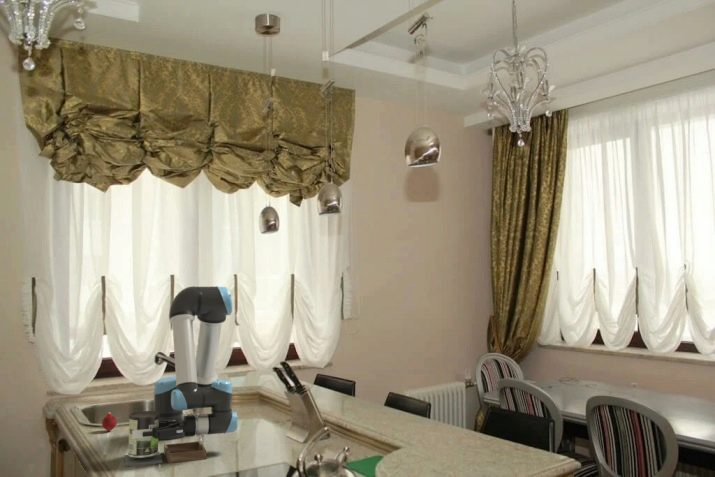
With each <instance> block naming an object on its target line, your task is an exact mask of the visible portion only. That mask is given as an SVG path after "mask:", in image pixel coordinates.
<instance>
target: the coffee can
mask: <svg viewBox="0 0 715 477" xmlns="http://www.w3.org/2000/svg"><path fill="white" fill-rule="evenodd" d="M128 420H129V421H128V423H129V424H128V451H127V452H128V453H127V455H128V456H130V457H134V458H144V457H150V456H154V455H156V454H158V452H159V439H158V438H157V439H156V438H155V437H147V438H136V439H132V430H143V429H153V428H155V429H158V428H159V412H156V411H154V410H142V411H141V410H140V411H135V412H132V413H130V414H128Z"/></svg>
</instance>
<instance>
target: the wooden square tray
mask: <svg viewBox="0 0 715 477" xmlns="http://www.w3.org/2000/svg"><path fill="white" fill-rule="evenodd" d="M206 449H207V448H205V446H204V445H203V443H202V442H201V441H200V440H199V441H190V442H189V441H188V442H179V443H168V444H163V454H164V456H165V458H166V461H167V463H168V464H170V463H179V462H181V463H182V462H189V461H197V460H206V459H207V450H206Z"/></svg>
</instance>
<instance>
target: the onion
mask: <svg viewBox="0 0 715 477" xmlns="http://www.w3.org/2000/svg"><path fill="white" fill-rule="evenodd" d="M117 424H118V421H117V418H116V416H115V415H114V414H112V413H111V412H110V411H109V412H107V415H105V417H103V419H102V422H101V425H102V428H103V429H105V431H106V432H111V431H112V430H113V429H115V428H116V426H117Z"/></svg>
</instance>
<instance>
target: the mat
mask: <svg viewBox="0 0 715 477" xmlns="http://www.w3.org/2000/svg"><path fill="white" fill-rule="evenodd" d="M123 457H124V458H123V459H124V463H125V467H126V468H129V467H128V466H131V467H139V466H138V465H140V466H147V465H157V463H159V464H162V463H163V459H162V456H161V454H160V451H158V454H156V455H154V456H150V457H144V458H134V457H130V456H128V454H124V455H123Z"/></svg>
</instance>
